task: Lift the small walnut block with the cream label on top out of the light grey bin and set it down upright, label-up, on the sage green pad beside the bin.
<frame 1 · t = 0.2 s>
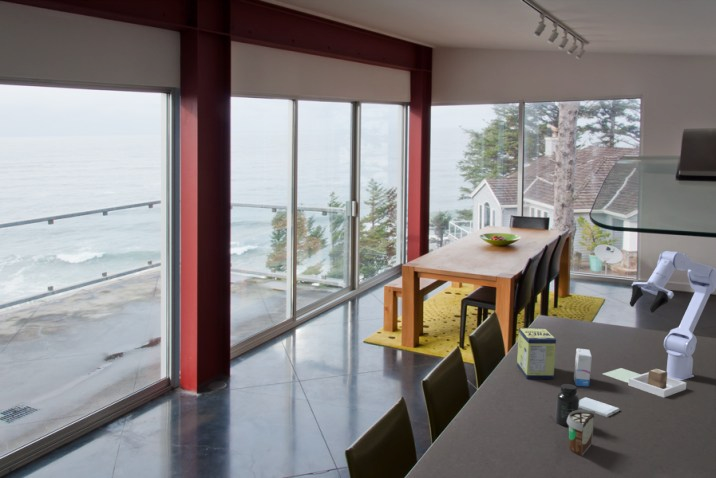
hand: (641, 307, 248), 31 cm above the table, tool tilted 45°, fingers open, 7 cm apart
ink box: (581, 383, 262), on the table
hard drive: (595, 410, 238), on the table
sage pad: (624, 376, 269), on the table
supplement bottle: (566, 422, 226), on the table
protein box: (534, 372, 272), on the table
walnut block: (656, 387, 257), resting on grey bin
food container: (576, 447, 209), on the table
grey bin: (656, 388, 257), on the table
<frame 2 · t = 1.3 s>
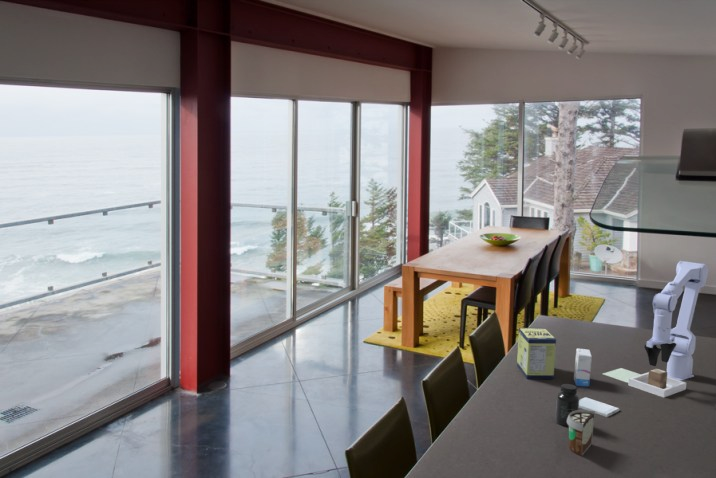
hand: (658, 363, 255), 9 cm above the table, tool pointing down, fingers open, 7 cm apart
nothing on the table moved.
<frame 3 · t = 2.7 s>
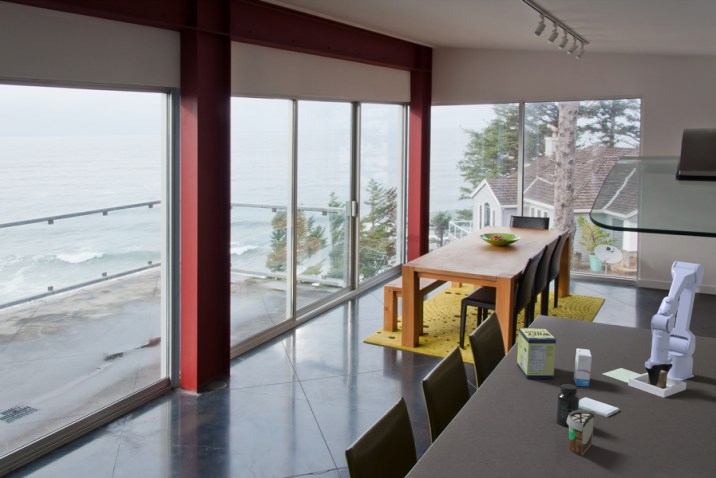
hand: (657, 383, 256), 2 cm above the table, tool pointing down, fingers closed on walnut block, 4 cm apart
walnut block: (656, 387, 257), resting on grey bin, touching gripper
everything else where it was.
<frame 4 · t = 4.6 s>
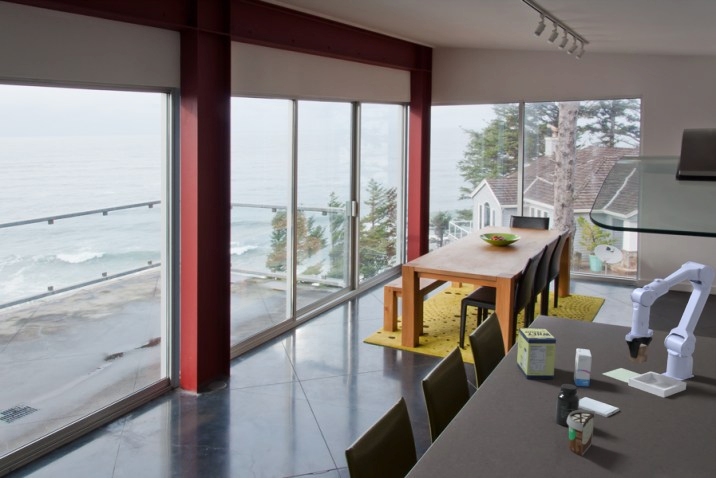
hand: (637, 356, 263), 9 cm above the table, tool pointing down, fingers closed on walnut block, 4 cm apart
walnut block: (637, 360, 263), point 8 cm above the table, touching gripper
everything else where it was.
when the fingers open (3 cm above the table, at t = 6.6 s): walnut block drops 1 cm, resting on sage pad.
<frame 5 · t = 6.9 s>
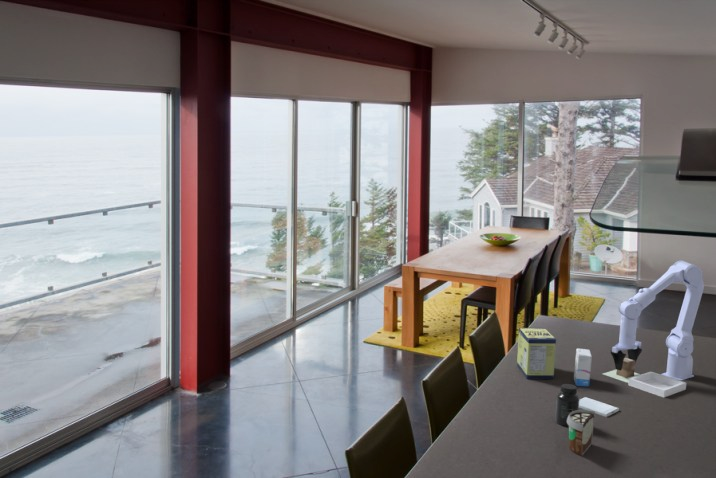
hand: (624, 367, 268), 3 cm above the table, tool pointing down, fingers open, 7 cm apart
walnut block: (625, 375, 268), point 1 cm above the table, touching sage pad
everything else where it was.
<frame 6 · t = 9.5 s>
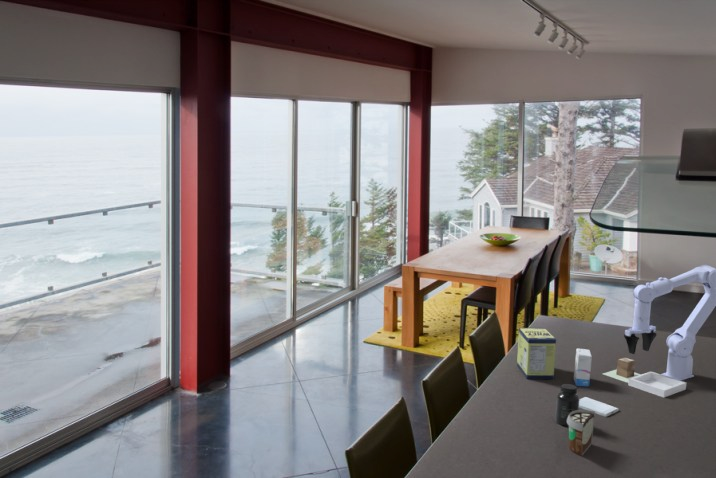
hand: (638, 351, 268), 9 cm above the table, tool pointing down, fingers open, 7 cm apart
nothing on the table moved.
at the end: walnut block inside the target area on the sage pad (0.3 cm from its centre), point 0.6 cm above the sage pad's base; walnut block tilted 0°; the gripper is holding nothing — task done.
